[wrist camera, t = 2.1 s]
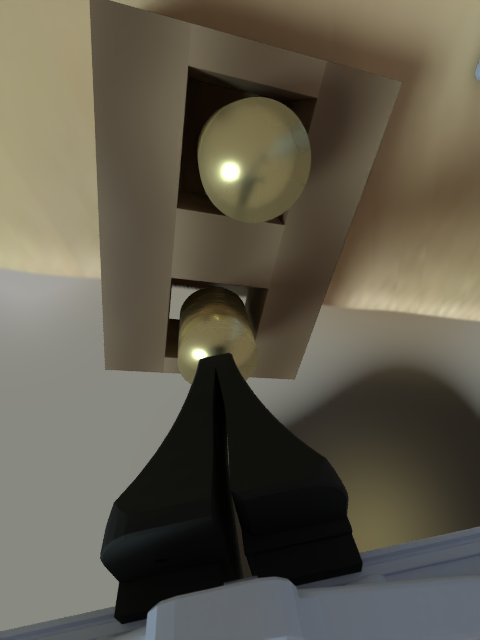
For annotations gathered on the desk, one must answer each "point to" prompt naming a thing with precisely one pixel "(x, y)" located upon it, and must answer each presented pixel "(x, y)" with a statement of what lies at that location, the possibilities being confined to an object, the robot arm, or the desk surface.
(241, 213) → the plunger
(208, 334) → the plunger
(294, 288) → the walnut block
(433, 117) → the desk surface
